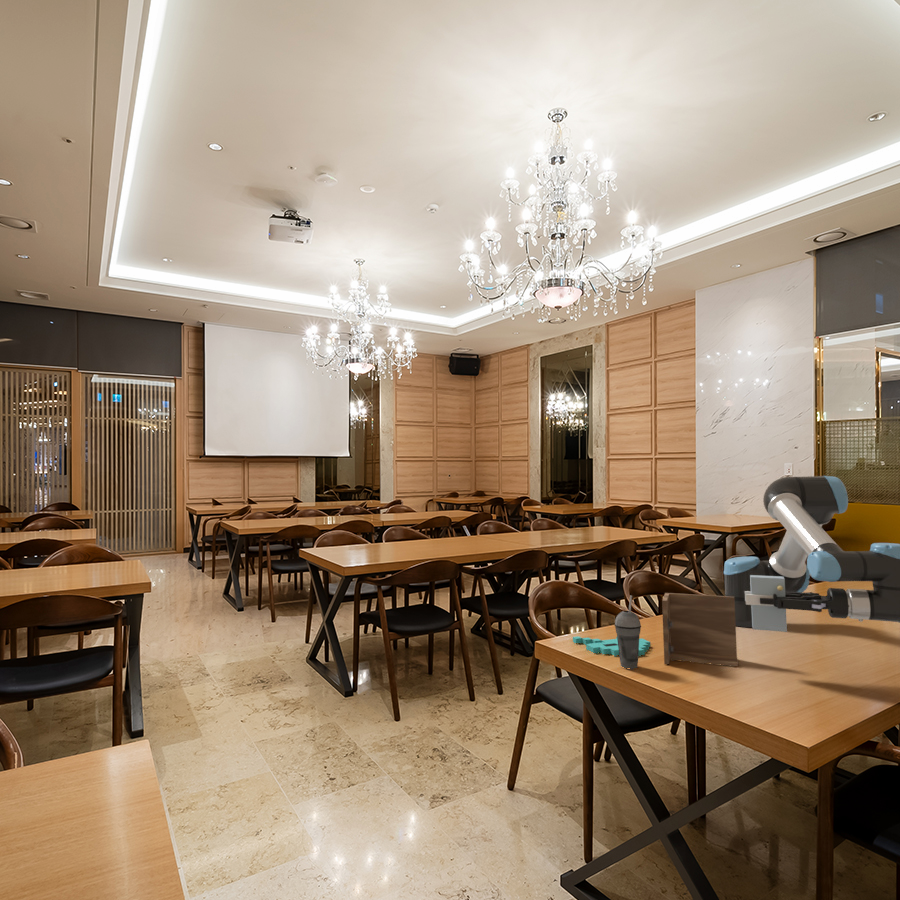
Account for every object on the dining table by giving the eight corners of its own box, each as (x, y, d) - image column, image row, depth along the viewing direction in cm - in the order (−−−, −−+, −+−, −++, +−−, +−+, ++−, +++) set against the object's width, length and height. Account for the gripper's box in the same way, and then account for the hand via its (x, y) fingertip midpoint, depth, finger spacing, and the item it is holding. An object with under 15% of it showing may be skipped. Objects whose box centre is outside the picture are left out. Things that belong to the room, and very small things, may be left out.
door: (752, 626, 161) (750, 575, 162) (785, 628, 158) (783, 576, 159) (753, 630, 157) (751, 577, 158) (787, 633, 154) (785, 579, 155)
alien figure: (572, 643, 191) (604, 661, 172) (572, 636, 191) (604, 653, 172) (626, 638, 196) (663, 655, 177) (626, 631, 197) (663, 647, 177)
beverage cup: (617, 661, 170) (614, 592, 171) (643, 664, 167) (640, 593, 168) (614, 669, 163) (612, 597, 164) (641, 672, 160) (639, 598, 162)
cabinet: (667, 652, 178) (665, 592, 179) (736, 659, 170) (734, 596, 171) (664, 664, 167) (662, 600, 168) (738, 672, 159) (735, 605, 160)
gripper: (854, 625, 144) (747, 618, 153) (840, 611, 159) (744, 605, 168) (852, 595, 144) (746, 589, 153) (839, 583, 159) (743, 578, 169)
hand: (745, 597), depth 161 cm, fingers closed on door, 3 cm apart
